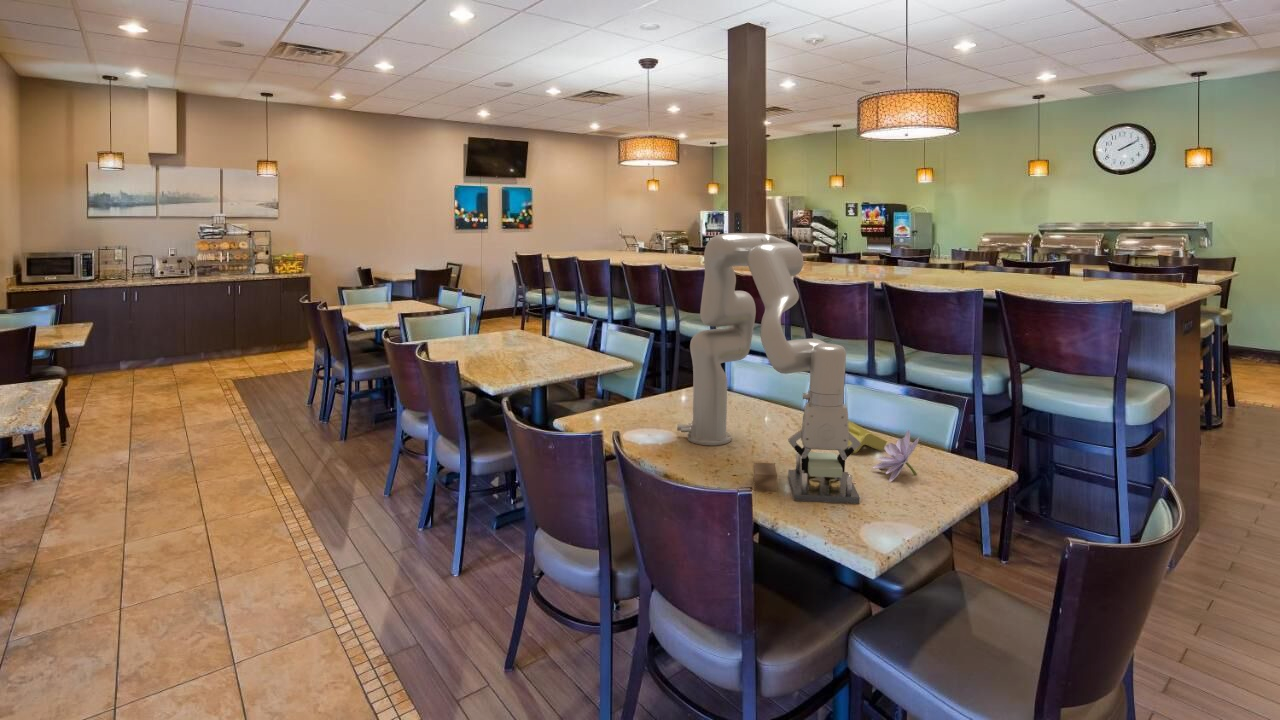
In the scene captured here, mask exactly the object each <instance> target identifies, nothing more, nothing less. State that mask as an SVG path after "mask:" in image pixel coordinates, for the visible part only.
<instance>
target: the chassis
mask: <svg viewBox="0 0 1280 720" xmlns="http://www.w3.org/2000/svg"><path fill="white" fill-rule="evenodd" d="M795 456H796V457H795V469H788V470H787V471H788V472H787V473H788V474H787V475H788V481H789V485H790V489H791V493H792V497H793V501H794V502H812V503H813V502H814V503H831V504H833V503H835V504H853V505H854V504H855V505H856V504H857V505H859V504H860V503H861V501H860V499H861V497H860V495H859V493H858V490H857V489H856V487H855V484H854V482H853V475H852V474H850V473H849V472H848V471H844V472H842V478H839V477H814V476H810V475H809V472H808V473H804V470H801V459H802V457H801V456H800V455H799V454H798V452H796V454H795ZM836 456H837V457H838V456H839V454H836Z"/></svg>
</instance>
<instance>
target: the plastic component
mask: <svg viewBox="0 0 1280 720" xmlns="http://www.w3.org/2000/svg"><path fill="white" fill-rule="evenodd" d="M848 423H849V432H850V433H851V434H852V435H853V436H854V437H855V438H856V439H857V440H859V442H860V443H861V445H860V446H859V447H858V448H857V449H856V450H854V452H853V453H852V454H851V455H854V454H856V453H858V452H859V451H860V449H861V448H862V447H863V446H865V445H866V446H868V447H870V448H872V449H874V450H877V451H879V452H880V451H881V452H882V451H884V450H885V445H887V442H888V441H887V440H886V439H883V438H882V437H880V436H878V435H876V434H874V433H873V432H870V431H869V430H868V429H865V428H863V427H862V426H860V425H858V424H856V423H854V422H853V421H850V420H848ZM851 444H852V442H851V441H850V440H849V441H848V447H849V446H850V445H851ZM844 450H845V449H844Z"/></svg>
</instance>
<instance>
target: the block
mask: <svg viewBox="0 0 1280 720" xmlns="http://www.w3.org/2000/svg"><path fill="white" fill-rule="evenodd" d="M752 475H753V476H752V477H753V480H752V481H753V487H754V488H753V489H754V491H755V492H773V493H774V492H777V490H778V489H777V488H778V471H777V466H776V463H774V462H772V463H771V462H753V474H752Z"/></svg>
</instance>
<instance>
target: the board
mask: <svg viewBox="0 0 1280 720" xmlns="http://www.w3.org/2000/svg"><path fill="white" fill-rule="evenodd" d="M808 458H809V462H808V472H809V475H810V476H814V477H839V478H842V472H843V469H842V467H841V464H840V463H839V461H838V459H837V454H836V453H835V452H816V451H815V452H814V451H810V452H809V454H808Z"/></svg>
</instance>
